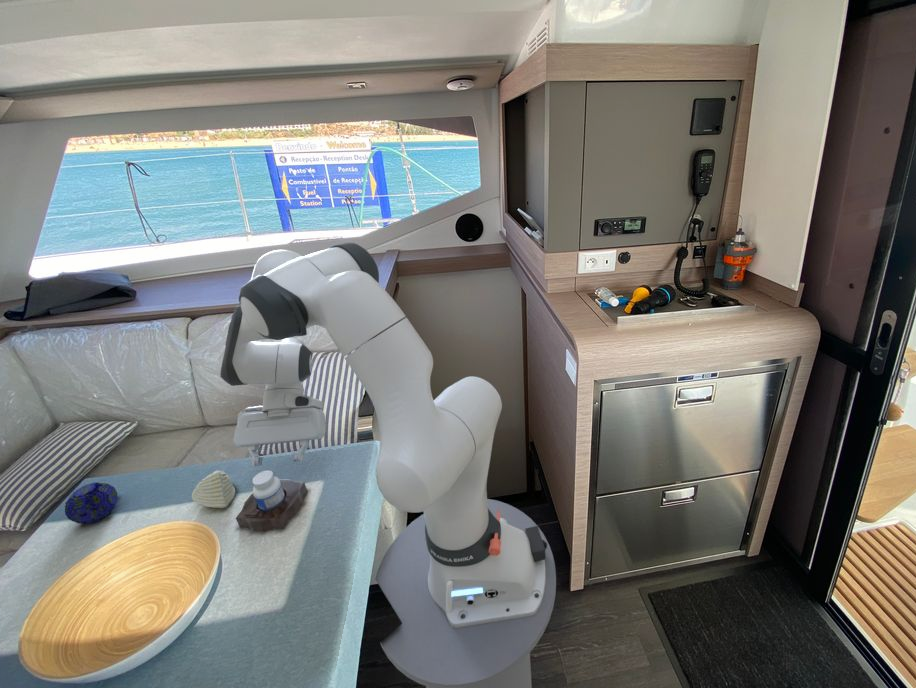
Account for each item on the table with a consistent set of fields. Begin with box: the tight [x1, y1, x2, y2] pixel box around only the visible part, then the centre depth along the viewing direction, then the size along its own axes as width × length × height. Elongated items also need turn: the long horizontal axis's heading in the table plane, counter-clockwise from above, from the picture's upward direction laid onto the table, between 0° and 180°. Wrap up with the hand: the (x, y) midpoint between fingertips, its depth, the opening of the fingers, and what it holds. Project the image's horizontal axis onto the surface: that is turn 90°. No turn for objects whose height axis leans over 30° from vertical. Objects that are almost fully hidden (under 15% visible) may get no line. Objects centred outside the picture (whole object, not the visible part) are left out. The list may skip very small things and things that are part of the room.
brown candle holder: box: [235, 478, 308, 532], centre depth 93 cm, size 11×11×3 cm
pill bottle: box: [252, 469, 286, 511], centre depth 92 cm, size 6×5×10 cm
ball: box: [64, 482, 119, 524], centre depth 94 cm, size 8×8×8 cm
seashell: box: [191, 469, 236, 509], centre depth 97 cm, size 8×8×8 cm
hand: (277, 463), depth 97 cm, fingers open, 8 cm apart
